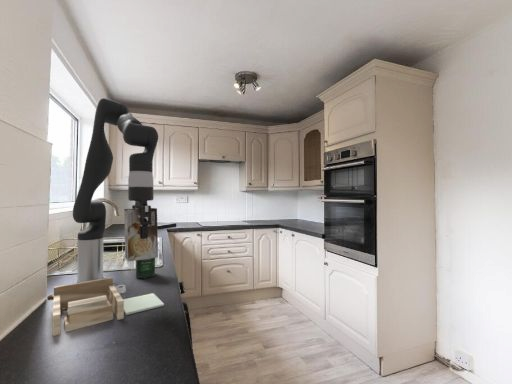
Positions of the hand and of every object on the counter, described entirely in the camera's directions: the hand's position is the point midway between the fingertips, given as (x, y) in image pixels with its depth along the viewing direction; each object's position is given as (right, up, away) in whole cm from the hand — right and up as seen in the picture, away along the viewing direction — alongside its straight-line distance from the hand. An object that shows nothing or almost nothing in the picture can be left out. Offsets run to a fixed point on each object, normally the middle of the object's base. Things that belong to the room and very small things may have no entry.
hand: (141, 237), depth 87 cm
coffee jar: (-11, -22, +31) cm, 40 cm away
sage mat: (0, -21, -1) cm, 21 cm away
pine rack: (-13, -21, -8) cm, 26 cm away
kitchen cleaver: (-22, -22, +8) cm, 32 cm away
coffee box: (0, -7, 0) cm, 7 cm away
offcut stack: (-9, -21, -13) cm, 27 cm away
